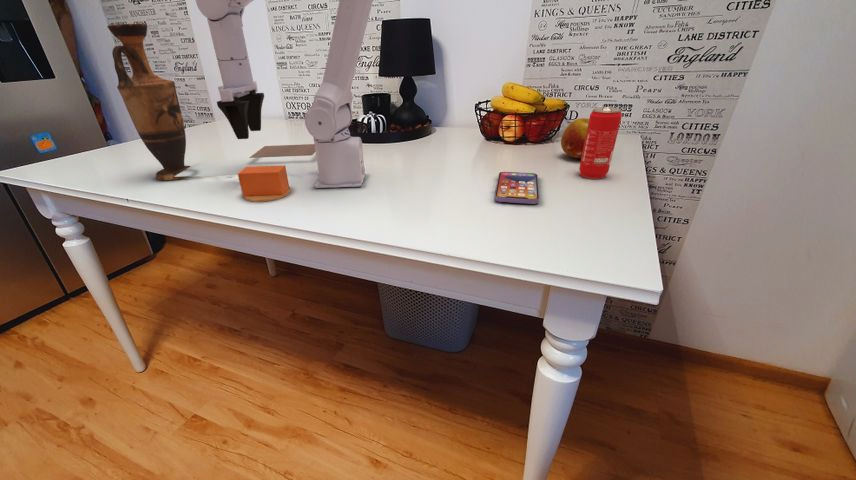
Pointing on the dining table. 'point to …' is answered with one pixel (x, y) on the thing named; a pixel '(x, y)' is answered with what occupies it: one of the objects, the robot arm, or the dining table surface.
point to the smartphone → (517, 188)
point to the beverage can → (600, 142)
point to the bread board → (285, 151)
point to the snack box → (263, 180)
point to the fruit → (575, 137)
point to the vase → (150, 102)
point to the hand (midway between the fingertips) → (249, 134)
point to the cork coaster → (266, 197)
